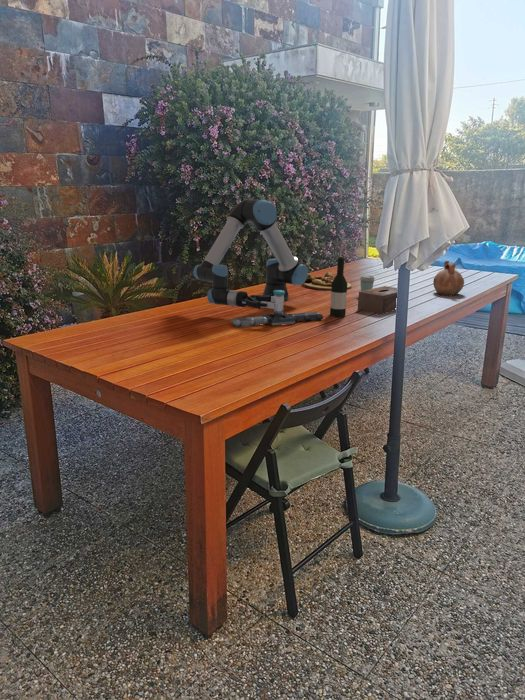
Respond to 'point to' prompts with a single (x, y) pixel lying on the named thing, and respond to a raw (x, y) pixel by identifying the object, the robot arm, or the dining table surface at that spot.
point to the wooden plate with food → (321, 282)
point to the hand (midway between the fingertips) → (279, 302)
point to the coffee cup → (366, 282)
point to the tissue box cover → (378, 300)
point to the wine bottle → (339, 291)
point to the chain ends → (276, 319)
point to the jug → (448, 280)
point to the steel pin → (278, 303)
